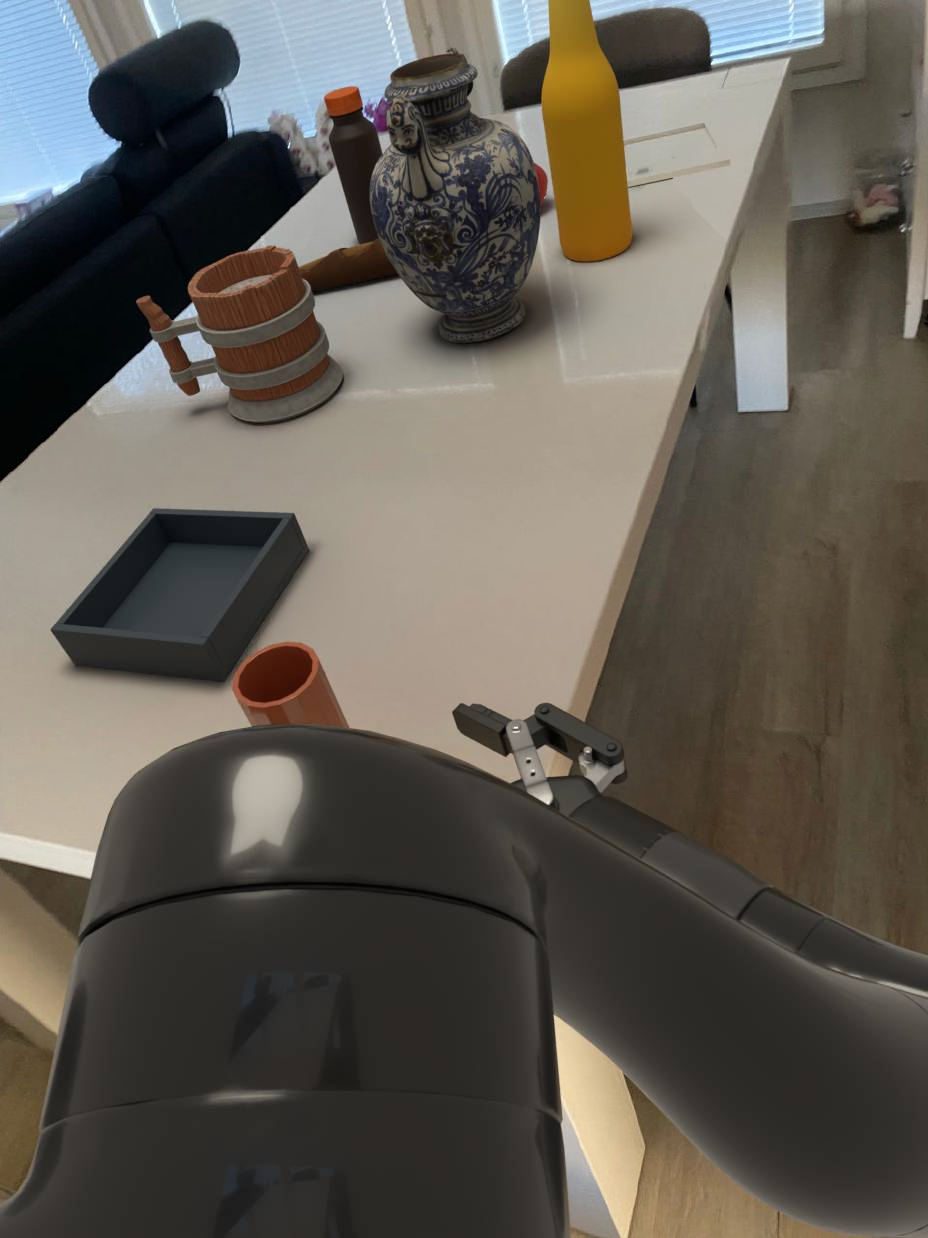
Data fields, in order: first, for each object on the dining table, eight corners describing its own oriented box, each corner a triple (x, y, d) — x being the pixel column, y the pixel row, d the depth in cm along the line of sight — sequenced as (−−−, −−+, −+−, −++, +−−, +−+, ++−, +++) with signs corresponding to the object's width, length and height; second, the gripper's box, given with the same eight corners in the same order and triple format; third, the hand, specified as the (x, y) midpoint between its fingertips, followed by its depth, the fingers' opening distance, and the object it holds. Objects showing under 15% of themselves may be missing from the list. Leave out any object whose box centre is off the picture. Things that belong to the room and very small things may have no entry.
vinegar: (365, 231, 145) (325, 88, 132) (407, 225, 144) (371, 80, 130) (353, 250, 141) (310, 104, 128) (396, 244, 139) (357, 95, 126)
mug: (340, 410, 106) (296, 281, 96) (177, 444, 108) (117, 322, 98) (347, 351, 116) (308, 230, 106) (198, 384, 119) (146, 268, 109)
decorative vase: (434, 287, 125) (376, 48, 106) (573, 275, 119) (537, 19, 100) (381, 372, 111) (304, 113, 92) (536, 363, 104) (486, 84, 86)
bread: (519, 238, 131) (513, 201, 128) (522, 252, 127) (515, 215, 124) (256, 295, 136) (243, 261, 132) (251, 311, 132) (237, 276, 129)
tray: (223, 681, 77) (203, 644, 74) (74, 664, 83) (49, 629, 80) (309, 549, 88) (294, 512, 85) (171, 542, 94) (153, 507, 91)
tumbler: (347, 818, 64) (294, 711, 57) (276, 806, 66) (216, 702, 59) (378, 753, 68) (332, 645, 61) (310, 744, 70) (257, 638, 63)
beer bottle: (587, 269, 119) (554, 2, 100) (548, 251, 126) (509, -3, 106) (648, 242, 121) (626, -25, 102) (606, 225, 128) (578, -28, 109)
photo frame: (624, 179, 135) (611, 139, 148) (625, 187, 136) (612, 147, 149) (730, 156, 133) (707, 118, 146) (730, 165, 134) (707, 126, 147)
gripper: (726, 754, 46) (474, 642, 56) (550, 990, 39) (299, 816, 49) (731, 842, 51) (499, 725, 61) (575, 1065, 44) (343, 894, 54)
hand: (410, 766), depth 55 cm, fingers open, 8 cm apart
